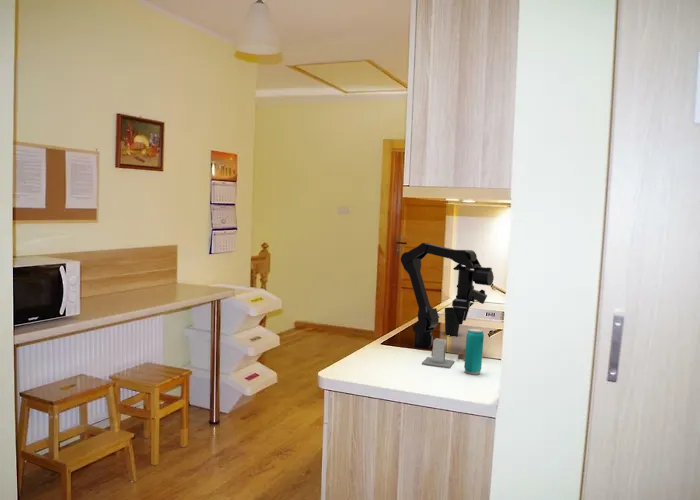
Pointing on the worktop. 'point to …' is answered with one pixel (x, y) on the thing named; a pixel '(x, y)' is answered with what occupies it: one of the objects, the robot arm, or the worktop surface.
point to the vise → (460, 354)
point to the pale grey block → (439, 350)
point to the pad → (445, 365)
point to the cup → (451, 322)
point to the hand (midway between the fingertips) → (462, 322)
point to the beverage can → (474, 351)
